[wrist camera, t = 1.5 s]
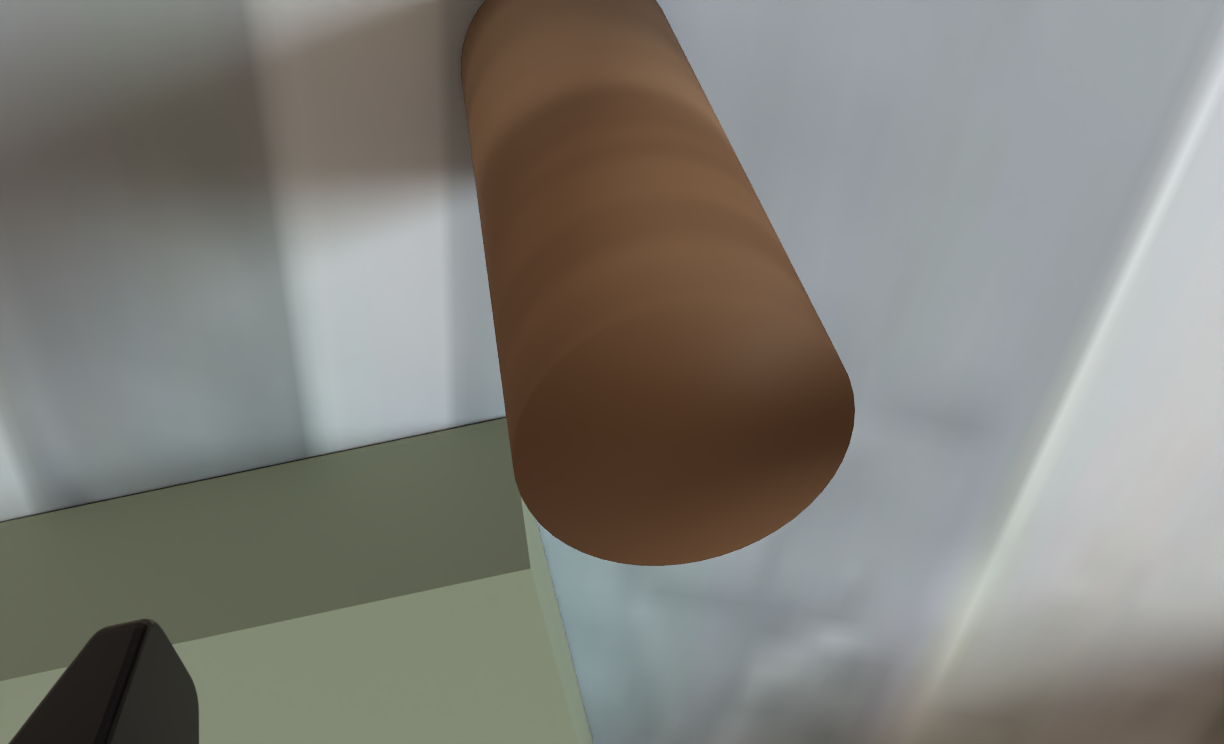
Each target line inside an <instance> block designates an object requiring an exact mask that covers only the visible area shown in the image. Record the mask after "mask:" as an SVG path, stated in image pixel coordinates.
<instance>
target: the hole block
mask: <svg viewBox="0 0 1224 744" xmlns="http://www.w3.org/2000/svg"><path fill="white" fill-rule="evenodd" d="M139 619H152V620H154V621H155V622H157V623H158V624H159V625H160V626H161V628H162V629H163V631H164V632H165V634H166V636H167V637H168V639H169V641H170V642H171V644H172V646H173V647H174V649H175V651H176V652H177V654H178V656H179V657H180V659H181V661H182V662H183V664H184V666H185V667H186V669H187V671H188V672H189V674H190V676H191V678H192V680H193V682H194V685H195V688H196V692H197V696H198V703H199V744H593V740H592V736H591V733H590V729H589V725H588V721H587V717H586V713H585V709H584V705H583V701H582V697H581V693H580V689H579V686H578V682H577V678H576V674H575V670H574V666H573V662H572V658H571V654H570V650H569V646H568V642H567V638H566V635H565V631H564V627H563V623H562V619H561V615H560V611H559V607H558V603H557V599H556V595H555V591H554V588H553V584H552V580H551V576H550V572H549V568H548V564H547V560H546V556H545V552H544V548H543V544H542V540H541V537H540V533H539V529H538V525H537V521H536V518H535V517H534V516H533V515H532V514H531V512H530V511H529V510H528V508H527V506H526V504H525V503H524V501H523V499H522V497H521V495H520V492H519V490H518V487H517V484H516V481H515V476H514V470H513V464H512V456H511V449H510V441H509V434H508V426H507V418H503V419H498V420H493V421H488V422H483V423H478V424H474V425H469V426H464V427H459V428H454V429H450V430H445V431H440V432H435V433H430V434H425V435H421V436H416V437H411V438H406V439H401V440H397V441H392V442H387V443H382V444H377V445H372V446H368V447H363V448H358V449H353V450H348V451H343V452H339V453H334V454H329V455H324V456H319V457H315V458H310V459H305V460H300V461H295V462H290V463H286V464H281V465H276V466H271V467H266V468H262V469H257V470H252V471H247V472H242V473H237V474H233V475H228V476H223V477H218V478H213V479H209V480H204V481H199V482H194V483H189V484H184V485H180V486H175V487H170V488H165V489H160V490H155V491H151V492H146V493H141V494H136V495H131V496H127V497H122V498H117V499H112V500H107V501H102V502H98V503H93V504H88V505H83V506H78V507H74V508H69V509H64V510H59V511H54V512H49V513H45V514H40V515H35V516H30V517H25V518H21V519H16V520H11V521H6V522H1V523H0V744H8V743H9V742H10V741H11V740H12V738H13V737H14V736H15V734H16V733H17V732H18V731H19V729H20V728H21V727H22V725H23V724H24V723H25V721H26V720H27V719H28V718H29V716H30V715H31V714H32V712H33V711H34V710H35V709H36V707H37V706H38V705H39V703H40V702H41V701H42V700H43V698H44V697H45V696H46V694H47V693H48V692H49V691H50V689H51V688H52V687H53V685H54V684H55V683H56V681H57V680H58V679H59V678H60V676H61V675H62V674H63V672H64V671H65V670H66V669H67V667H68V666H69V665H70V663H71V662H72V661H73V660H74V658H75V657H76V656H77V654H78V653H79V652H80V650H81V649H82V648H83V647H84V645H85V644H86V643H87V641H88V640H89V639H90V638H91V637H92V636H93V634H95V633H96V632H97V631H98V630H100V629H102V628H104V627H106V626H111V625H116V624H120V623H125V622H130V621H135V620H139Z"/></svg>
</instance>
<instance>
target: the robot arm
mask: <svg viewBox="0 0 1224 744" xmlns="http://www.w3.org/2000/svg"><path fill="white" fill-rule="evenodd" d="M8 744H199V703H198V696H197V692H196V688H195V685H194V682H193V680H192V678H191V676H190V674H189V672H188V671H187V669H186V667H185V666H184V664H183V662H182V661H181V659H180V657H179V656H178V654H177V652H176V651H175V649H174V647H173V646H172V644H171V642H170V641H169V639H168V637H167V636H166V634H165V632H164V631H163V629H162V628H161V626H160V625H159V624H158V623H157V622H155V621H154V620H152V619H139V620H135V621H130V622H125V623H120V624H116V625H111V626H106V627H104V628H102V629H100V630H98V631H97V632H96V633H95V634H93V636H92V637H91V638H90V639H89V640H88V641H87V643H86V644H85V645H84V647H83V648H82V649H81V650H80V652H79V653H78V654H77V656H76V657H75V658H74V660H73V661H72V662H71V663H70V665H69V666H68V667H67V669H66V670H65V671H64V672H63V674H62V675H61V676H60V678H59V679H58V680H57V681H56V683H55V684H54V685H53V687H52V688H51V689H50V691H49V692H48V693H47V694H46V696H45V697H44V698H43V700H42V701H41V702H40V703H39V705H38V706H37V707H36V709H35V710H34V711H33V712H32V714H31V715H30V716H29V718H28V719H27V720H26V721H25V723H24V724H23V725H22V727H21V728H20V729H19V731H18V732H17V733H16V734H15V736H14V737H13V738H12V740H11V741H10V742H9V743H8Z"/></svg>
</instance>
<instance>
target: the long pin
mask: <svg viewBox="0 0 1224 744" xmlns="http://www.w3.org/2000/svg"><path fill="white" fill-rule="evenodd" d="M461 77H462V84H463V92H464V100H465V107H466V115H467V122H468V130H469V137H470V145H471V153H472V160H473V168H474V175H475V183H476V191H477V198H478V206H479V213H480V221H481V229H482V236H483V244H484V251H485V259H486V267H487V274H488V282H489V289H490V297H491V304H492V312H493V320H494V327H495V335H496V342H497V350H498V358H499V365H500V373H501V380H502V388H503V396H504V403H505V411H506V418H507V426H508V434H509V441H510V449H511V456H512V464H513V470H514V476H515V481H516V484H517V487H518V490H519V492H520V495H521V497H522V499H523V501H524V503H525V504H526V506H527V508H528V510H529V511H530V512H531V514H532V515H533V516H534V517H535V518H536V520H537V521H538V522H539V523H540V524H541V525H542V526H543V527H544V528H545V529H546V530H547V531H549V532H550V533H551V534H552V535H553V536H555V537H556V538H558V539H559V540H561V541H562V542H564V543H565V544H567V545H569V546H571V547H573V548H575V549H577V550H579V551H581V552H583V553H586V554H588V555H591V556H594V557H597V558H600V559H604V560H608V561H613V562H617V563H623V564H632V565H644V566H664V565H677V564H685V563H691V562H697V561H702V560H706V559H710V558H714V557H718V556H722V555H724V554H727V553H730V552H733V551H736V550H738V549H741V548H743V547H746V546H748V545H750V544H752V543H754V542H757V541H759V540H761V539H762V538H764V537H766V536H768V535H769V534H771V533H773V532H775V531H776V530H778V529H779V528H781V527H782V526H784V525H785V524H787V523H788V522H789V521H791V520H792V519H794V518H795V517H796V516H797V515H798V514H800V513H801V512H802V511H803V510H804V509H805V508H807V507H808V506H809V505H810V504H811V503H812V502H813V501H814V500H815V499H816V497H817V496H818V495H819V494H820V493H821V492H822V491H823V490H824V488H825V487H826V486H827V484H828V483H829V482H830V480H831V479H832V478H833V476H834V475H835V473H836V471H837V469H838V468H839V466H840V464H841V462H842V461H843V458H844V456H845V454H846V451H847V449H848V446H849V444H850V439H851V435H852V431H853V427H854V415H855V406H854V395H853V390H852V387H851V383H850V379H849V376H848V374H847V372H846V370H845V368H844V366H843V364H842V362H841V360H840V358H839V356H838V354H837V352H836V350H835V348H834V346H833V344H832V342H831V340H830V338H829V336H828V334H827V332H826V330H825V328H824V326H823V325H822V323H821V321H820V319H819V317H818V315H817V313H816V311H815V309H814V307H813V305H812V303H811V301H810V299H809V297H808V295H807V293H806V291H805V289H804V287H803V285H802V283H801V281H800V279H799V277H798V275H797V274H796V272H795V270H794V268H793V266H792V264H791V262H790V260H789V258H788V256H787V254H786V252H785V250H784V248H783V246H782V244H781V242H780V240H779V238H778V236H777V234H776V232H775V230H774V228H773V226H772V224H771V222H770V221H769V219H768V217H767V215H766V213H765V211H764V209H763V207H762V205H761V203H760V201H759V199H758V197H757V195H756V193H755V191H754V189H753V187H752V185H751V183H750V181H749V179H748V177H747V175H746V173H745V171H744V169H743V168H742V166H741V164H740V162H739V160H738V158H737V156H736V154H735V152H734V150H733V148H732V146H731V144H730V142H729V140H728V138H727V136H726V134H725V132H724V130H723V128H722V126H721V124H720V122H719V120H718V118H717V117H716V115H715V113H714V111H713V109H712V107H711V105H710V103H709V101H708V99H707V97H706V95H705V93H704V91H703V89H702V87H701V85H700V83H699V81H698V79H697V77H696V75H695V73H694V71H693V69H692V67H691V65H690V64H689V62H688V60H687V58H686V56H685V54H684V52H683V50H682V48H681V46H680V44H679V42H678V40H677V38H676V36H675V34H674V32H673V30H672V28H671V26H670V24H669V22H668V20H667V18H666V16H665V14H664V13H663V11H662V9H661V7H660V6H659V4H658V3H657V1H656V0H485V2H484V3H483V4H482V5H481V7H480V8H479V9H478V11H477V13H476V15H475V16H474V18H473V20H472V21H471V24H470V26H469V29H468V31H467V34H466V37H465V41H464V45H463V49H462V57H461Z"/></svg>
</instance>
